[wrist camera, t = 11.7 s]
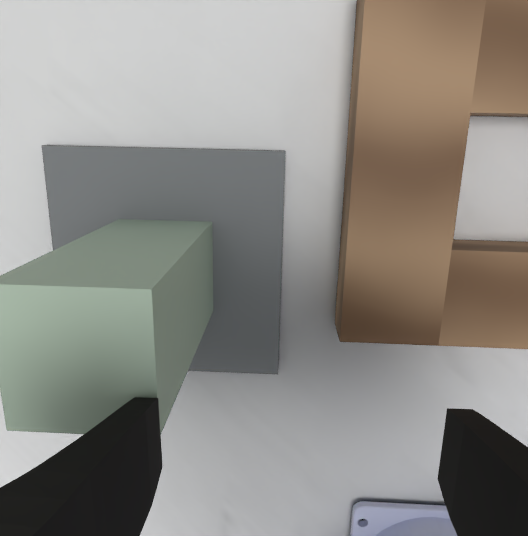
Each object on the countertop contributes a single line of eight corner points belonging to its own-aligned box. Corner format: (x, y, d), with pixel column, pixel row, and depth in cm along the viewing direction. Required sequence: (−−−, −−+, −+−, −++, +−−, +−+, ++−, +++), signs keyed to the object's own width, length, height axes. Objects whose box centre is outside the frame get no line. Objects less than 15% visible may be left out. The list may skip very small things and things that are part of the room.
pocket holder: (630, 334, 20) (666, 354, 18) (335, 322, 21) (339, 341, 19) (716, 4, 17) (773, -14, 15) (357, 0, 17) (365, -17, 15)
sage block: (213, 310, 20) (159, 437, 12) (124, 307, 20) (6, 430, 12) (212, 221, 19) (151, 289, 11) (118, 219, 19) (-17, 283, 11)
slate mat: (278, 369, 21) (278, 374, 21) (69, 361, 22) (65, 365, 21) (285, 150, 19) (285, 151, 18) (46, 145, 19) (41, 145, 19)
